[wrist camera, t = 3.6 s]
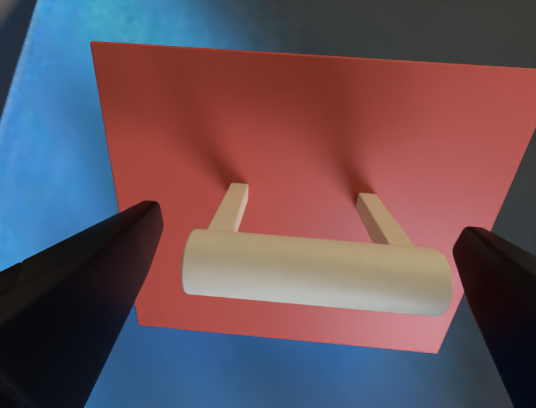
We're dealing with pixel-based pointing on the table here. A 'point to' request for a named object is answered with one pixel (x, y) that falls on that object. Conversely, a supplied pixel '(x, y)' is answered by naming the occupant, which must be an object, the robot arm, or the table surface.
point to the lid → (309, 185)
